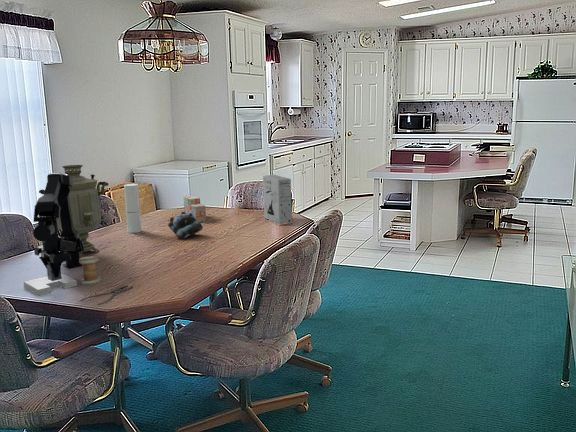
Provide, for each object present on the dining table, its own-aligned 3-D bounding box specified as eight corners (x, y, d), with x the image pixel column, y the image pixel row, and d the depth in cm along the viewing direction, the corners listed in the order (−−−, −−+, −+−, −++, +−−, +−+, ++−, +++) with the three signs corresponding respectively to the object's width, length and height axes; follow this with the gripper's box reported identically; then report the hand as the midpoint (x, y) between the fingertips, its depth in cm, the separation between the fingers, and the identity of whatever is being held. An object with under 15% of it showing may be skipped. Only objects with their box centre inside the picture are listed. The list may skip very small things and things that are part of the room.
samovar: (49, 265, 240) (38, 171, 232) (44, 252, 262) (34, 166, 255) (121, 255, 253) (113, 166, 245) (110, 243, 276) (103, 161, 268)
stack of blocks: (206, 221, 324) (205, 200, 321) (195, 222, 321) (194, 201, 318) (194, 215, 342) (193, 195, 340) (184, 216, 339) (183, 196, 337)
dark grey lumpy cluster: (179, 241, 277) (166, 215, 278) (175, 245, 289) (163, 221, 289) (206, 228, 283) (194, 203, 284) (201, 233, 294) (189, 209, 295)
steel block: (48, 279, 208) (46, 264, 206) (57, 276, 210) (56, 262, 209) (52, 281, 205) (50, 266, 204) (61, 278, 207) (60, 264, 206)
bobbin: (78, 281, 216) (75, 259, 215) (95, 277, 221) (93, 255, 219) (86, 285, 211) (83, 262, 210) (103, 281, 216) (101, 258, 214)
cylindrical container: (143, 229, 305) (139, 183, 300) (138, 232, 298) (135, 185, 293) (130, 229, 306) (126, 183, 301) (125, 232, 299) (121, 185, 294)
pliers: (76, 301, 193) (111, 283, 212) (77, 304, 193) (111, 286, 212) (101, 304, 190) (134, 285, 209) (101, 306, 190) (134, 287, 209)
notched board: (24, 286, 212) (23, 281, 212) (61, 278, 221) (60, 273, 221) (38, 295, 202) (38, 289, 202) (76, 285, 212) (76, 280, 211)
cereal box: (264, 218, 327) (262, 175, 322) (276, 217, 330) (274, 174, 325) (279, 225, 308) (278, 179, 303) (292, 223, 311) (291, 178, 306)
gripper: (83, 234, 203) (87, 276, 206) (61, 227, 216) (65, 266, 219) (51, 240, 196) (56, 283, 199) (31, 232, 209) (36, 273, 212)
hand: (54, 276), depth 207 cm, fingers closed on steel block, 4 cm apart
